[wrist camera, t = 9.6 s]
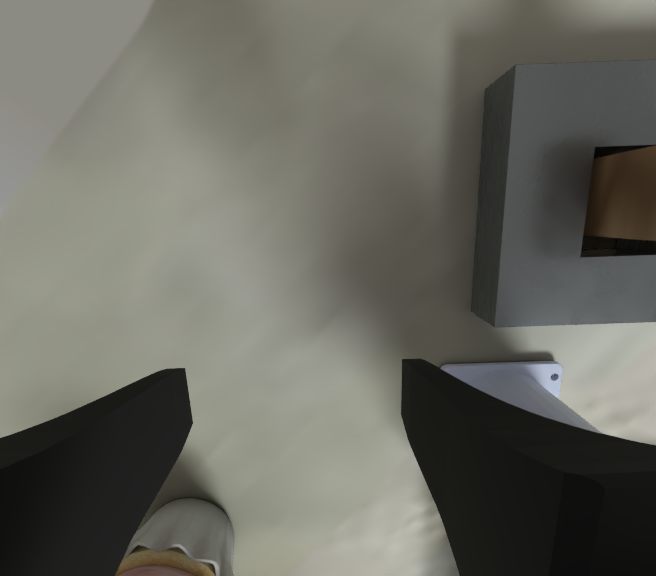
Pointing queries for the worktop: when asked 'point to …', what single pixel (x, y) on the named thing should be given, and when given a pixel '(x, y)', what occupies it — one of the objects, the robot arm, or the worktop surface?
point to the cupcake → (182, 542)
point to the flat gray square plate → (559, 195)
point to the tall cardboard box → (623, 196)
